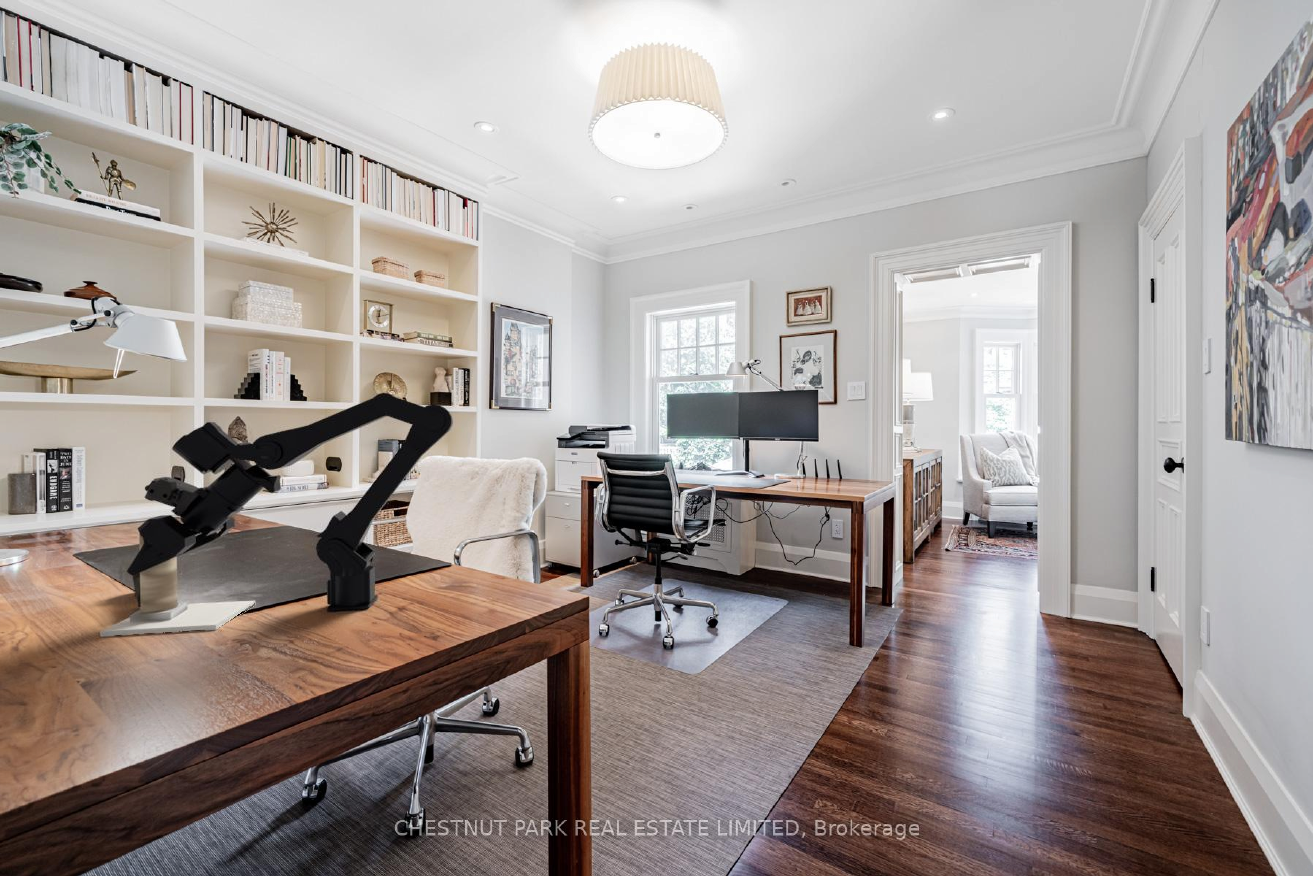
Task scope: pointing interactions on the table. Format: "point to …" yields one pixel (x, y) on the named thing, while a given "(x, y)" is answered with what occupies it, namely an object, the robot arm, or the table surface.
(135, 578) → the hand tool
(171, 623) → the mat
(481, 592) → the table surface
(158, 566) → the beige pillar on pedestal
